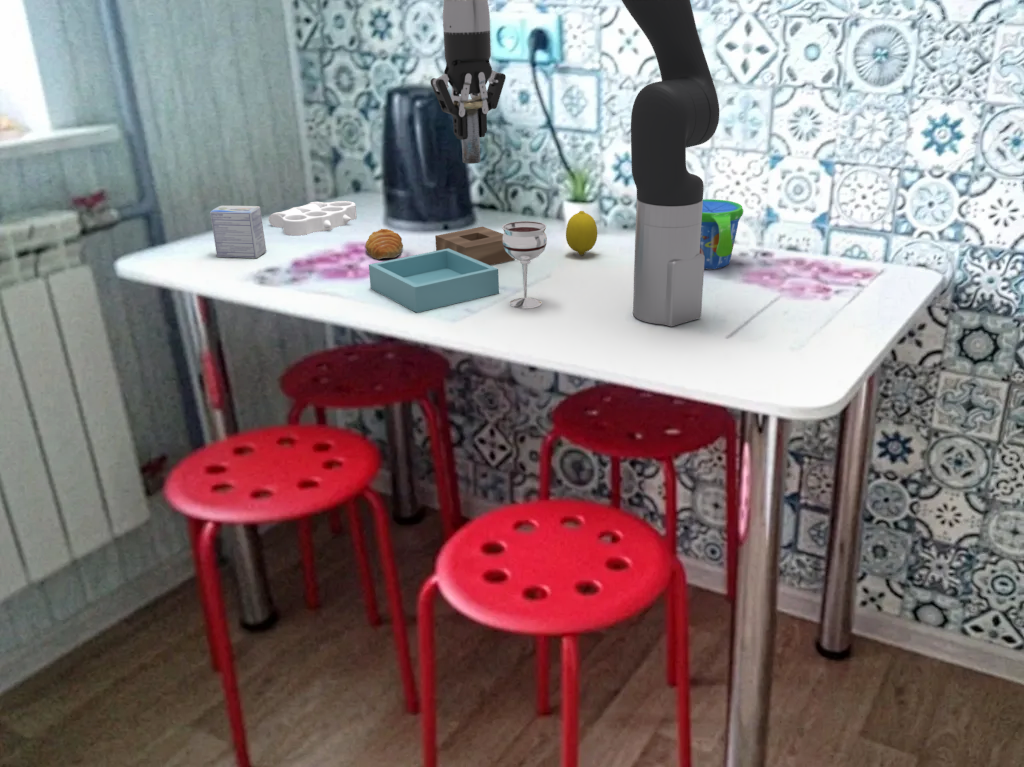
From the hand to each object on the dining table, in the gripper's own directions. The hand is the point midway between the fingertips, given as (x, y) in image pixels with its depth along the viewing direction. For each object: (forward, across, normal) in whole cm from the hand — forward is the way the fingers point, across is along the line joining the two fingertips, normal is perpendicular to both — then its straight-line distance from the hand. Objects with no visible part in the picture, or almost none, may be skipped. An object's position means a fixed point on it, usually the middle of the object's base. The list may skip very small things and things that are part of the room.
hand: (470, 137), depth 163 cm
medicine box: (+21, -32, +29) cm, 48 cm away
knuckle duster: (+22, -12, +42) cm, 48 cm away
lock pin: (+4, 0, 0) cm, 4 cm away
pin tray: (+21, -15, -11) cm, 28 cm away
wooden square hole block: (+21, 0, 0) cm, 21 cm away
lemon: (+21, +16, -10) cm, 29 cm away
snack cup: (+21, +29, -28) cm, 46 cm away
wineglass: (+21, -7, -25) cm, 34 cm away
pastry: (+22, -10, +14) cm, 28 cm away
